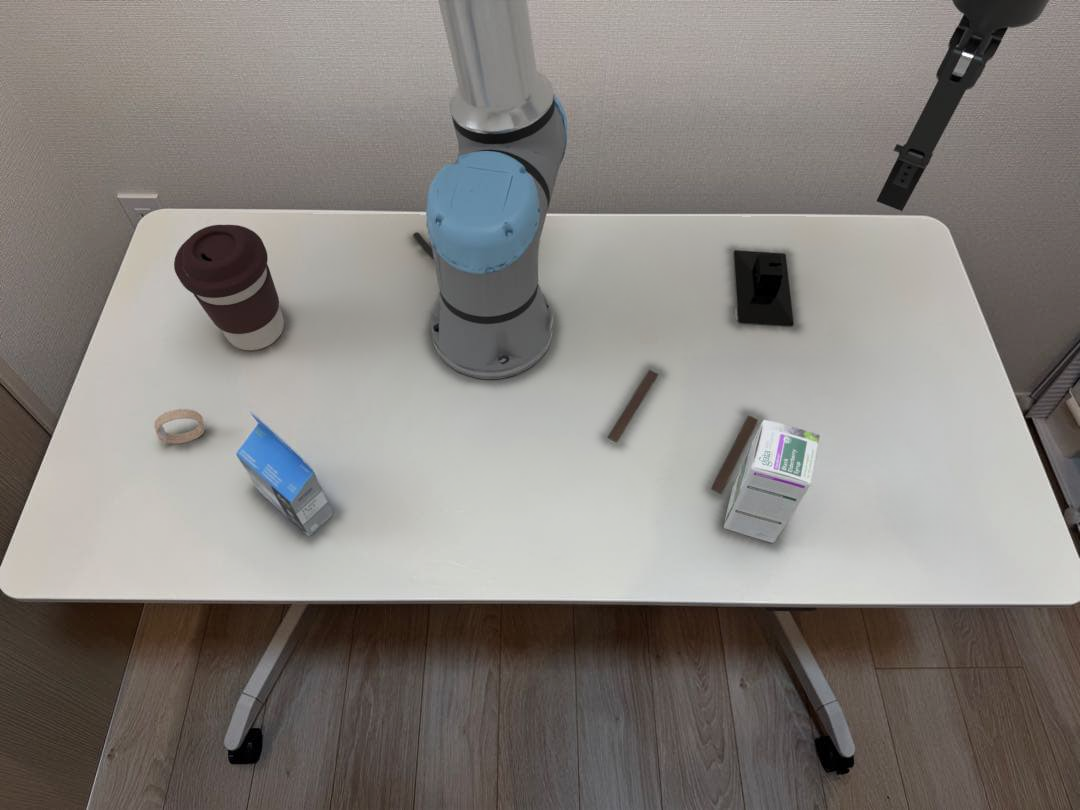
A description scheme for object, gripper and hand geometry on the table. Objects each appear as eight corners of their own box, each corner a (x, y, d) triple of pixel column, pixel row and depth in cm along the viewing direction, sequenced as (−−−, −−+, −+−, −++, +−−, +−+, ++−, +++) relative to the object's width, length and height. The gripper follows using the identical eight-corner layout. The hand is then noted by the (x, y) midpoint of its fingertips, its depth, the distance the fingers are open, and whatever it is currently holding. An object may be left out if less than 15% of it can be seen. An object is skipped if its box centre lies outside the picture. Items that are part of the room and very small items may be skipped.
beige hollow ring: (167, 434, 89) (148, 412, 85) (208, 421, 90) (192, 399, 86) (169, 453, 88) (151, 431, 83) (212, 440, 89) (195, 418, 84)
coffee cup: (289, 291, 101) (253, 205, 88) (301, 349, 96) (265, 267, 83) (212, 309, 99) (164, 224, 86) (220, 369, 94) (171, 289, 81)
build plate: (793, 327, 98) (803, 304, 94) (735, 323, 98) (743, 300, 94) (785, 254, 104) (794, 230, 100) (731, 251, 105) (738, 227, 101)
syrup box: (774, 545, 82) (816, 485, 70) (720, 528, 83) (751, 466, 71) (783, 499, 85) (824, 433, 73) (730, 483, 86) (762, 416, 74)
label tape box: (256, 490, 85) (217, 435, 75) (285, 465, 87) (250, 408, 76) (309, 538, 82) (276, 488, 72) (337, 511, 84) (309, 459, 73)
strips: (607, 437, 89) (607, 436, 89) (649, 370, 94) (649, 369, 94) (720, 493, 85) (721, 493, 85) (757, 420, 90) (758, 419, 90)
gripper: (1028, 51, 56) (909, 253, 74) (1096, -94, 67) (978, 112, 85) (927, 20, 58) (835, 224, 76) (1009, -116, 69) (912, 90, 87)
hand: (910, 165), depth 81 cm, fingers open, 13 cm apart
